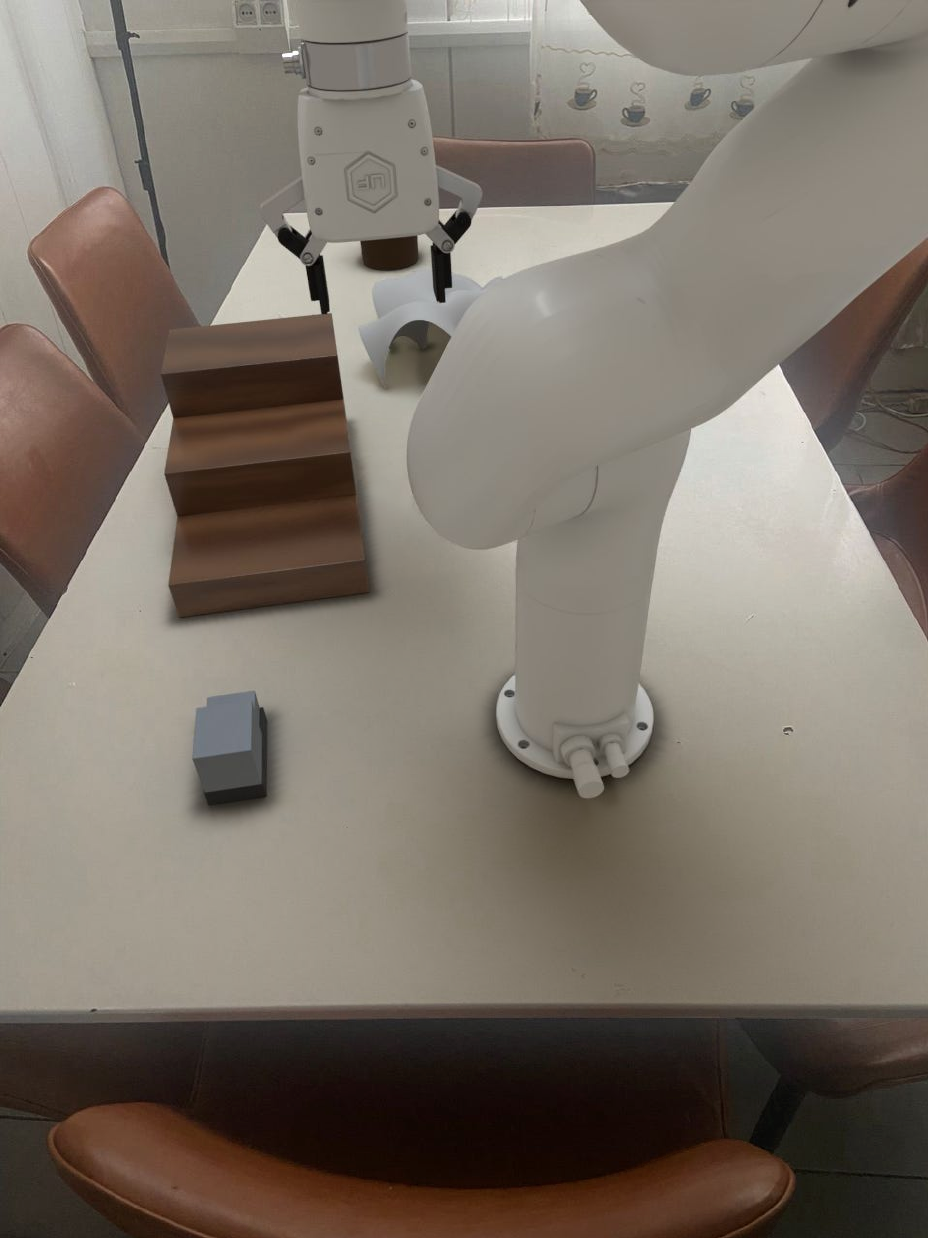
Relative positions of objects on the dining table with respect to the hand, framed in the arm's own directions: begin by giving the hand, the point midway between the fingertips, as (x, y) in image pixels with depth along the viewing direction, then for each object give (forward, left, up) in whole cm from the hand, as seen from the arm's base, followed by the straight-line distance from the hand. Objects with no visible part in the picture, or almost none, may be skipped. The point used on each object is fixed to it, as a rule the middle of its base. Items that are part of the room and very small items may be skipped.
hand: (382, 302), depth 75 cm
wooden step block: (+9, +13, -25) cm, 30 cm away
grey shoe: (-26, +16, -25) cm, 40 cm away
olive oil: (+79, -7, -25) cm, 83 cm away
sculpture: (+44, -9, -25) cm, 52 cm away
